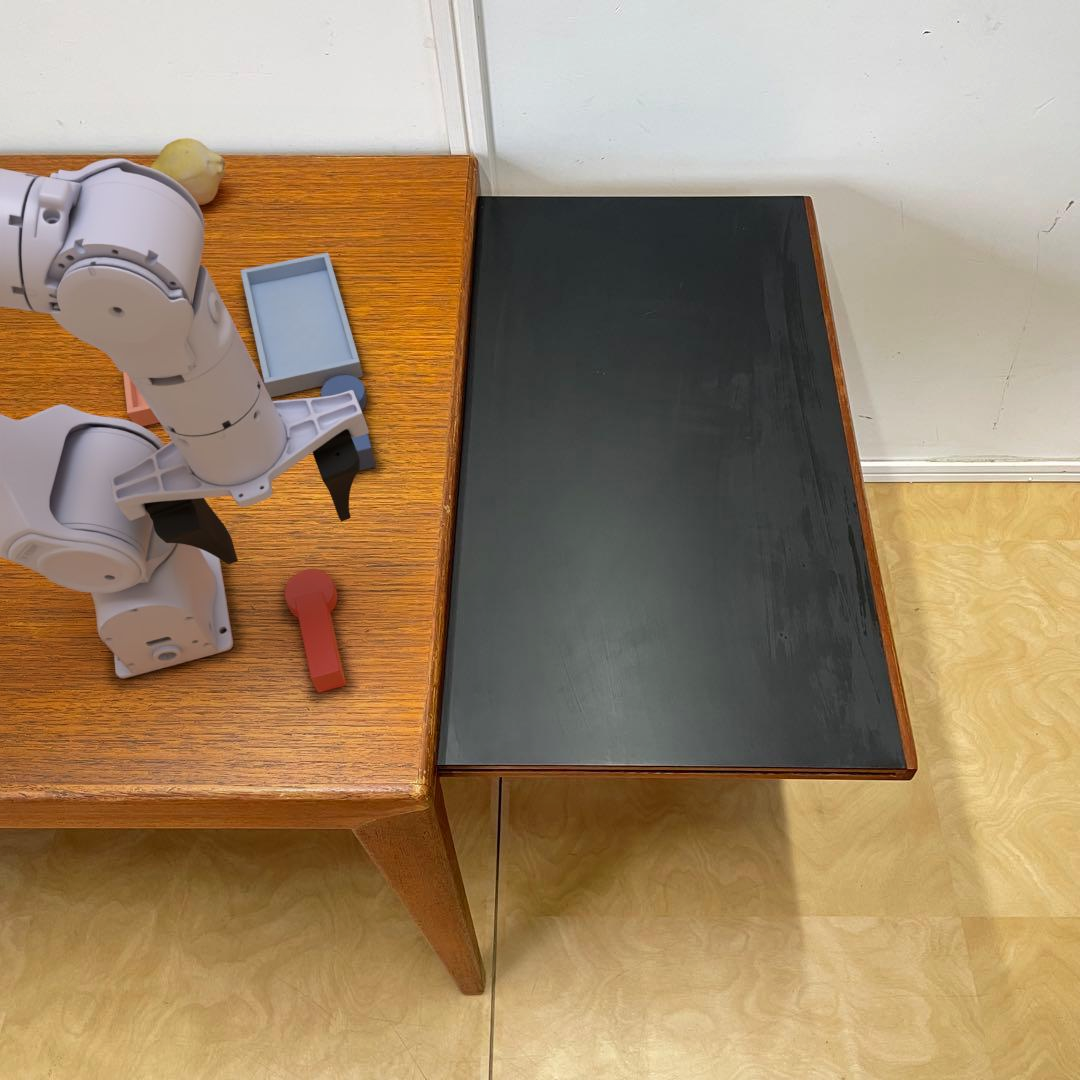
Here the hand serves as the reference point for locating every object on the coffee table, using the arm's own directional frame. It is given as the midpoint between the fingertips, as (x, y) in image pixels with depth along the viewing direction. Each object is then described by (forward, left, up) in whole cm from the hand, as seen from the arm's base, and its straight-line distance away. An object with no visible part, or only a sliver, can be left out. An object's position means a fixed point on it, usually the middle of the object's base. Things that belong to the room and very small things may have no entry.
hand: (286, 529), depth 60 cm
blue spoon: (+15, -6, -9) cm, 18 cm away
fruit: (+48, +4, -9) cm, 49 cm away
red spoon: (-3, 0, -9) cm, 9 cm away
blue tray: (+27, -4, -9) cm, 28 cm away
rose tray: (+27, +7, -9) cm, 29 cm away
